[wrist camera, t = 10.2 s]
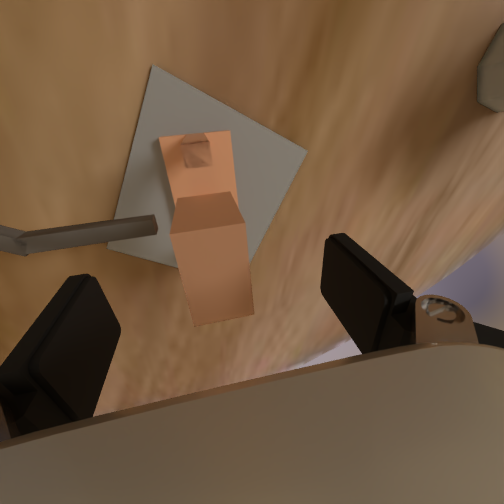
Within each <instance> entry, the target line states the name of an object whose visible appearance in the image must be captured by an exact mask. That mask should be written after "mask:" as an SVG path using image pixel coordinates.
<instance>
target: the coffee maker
mask: <svg viewBox="0 0 504 504" xmlns="http://www.w3.org/2000/svg"><path fill="white" fill-rule="evenodd" d="M477 102H478V103H480V104H482V105H484V106H486V107H488V108H489V109H491V110H493V111H495V112H502V111H504V23H503V24H502V25H501V26H500V28H499V30H498V31H497V33H496V35H495V37H494V38H493V40H492V42H491V44H490V46H489V47H488V49H487V51H486V53H485V54H484V56H483V58H482V60H481V62H480V63H479V65H478V70H477Z"/></svg>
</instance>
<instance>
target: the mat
mask: <svg viewBox="0 0 504 504" xmlns="http://www.w3.org/2000/svg"><path fill="white" fill-rule="evenodd" d="M224 130H230V133H231V142H232V151H233V160H234V170H235V179H236V188H237V197H238V207H239V211H240V213H241V215H242V217H243V219H244V221H245V223H246V234H247V244H248V254H249V264H250V262H251V260H252V258H253V256H254V254H255V252H256V250H257V248H258V246H259V245H260V243H261V241H262V239H263V237H264V235H265V233H266V231H267V229H268V227H269V225H270V223H271V221H272V219H273V217H274V215H275V214H276V212H277V210H278V208H279V206H280V204H281V202H282V200H283V198H284V196H285V194H286V192H287V190H288V188H289V186H290V185H291V183H292V181H293V179H294V177H295V175H296V173H297V171H298V169H299V167H300V165H301V163H302V161H303V159H304V157H305V155H306V154H307V152H308V151H307V150H305V149H303V148H302V147H300V146H298V145H296V144H294V143H293V142H291V141H289V140H287V139H285V138H284V137H282V136H280V135H278V134H277V133H275V132H273V131H271V130H269V129H268V128H266V127H264V126H262V125H260V124H259V123H257V122H255V121H253V120H252V119H250V118H248V117H246V116H244V115H243V114H241V113H239V112H237V111H235V110H234V109H232V108H230V107H228V106H226V105H225V104H223V103H221V102H219V101H218V100H216V99H214V98H212V97H210V96H209V95H207V94H205V93H203V92H201V91H200V90H198V89H196V88H194V87H192V86H191V85H189V84H187V83H185V82H184V81H182V80H180V79H178V78H176V77H175V76H173V75H171V74H169V73H167V72H166V71H164V70H162V69H160V68H158V67H157V66H155V65H152V69H151V73H150V77H149V81H148V85H147V89H146V93H145V97H144V101H143V105H142V109H141V113H140V117H139V121H138V125H137V129H136V133H135V137H134V141H133V145H132V149H131V153H130V157H129V161H128V165H127V169H126V173H125V177H124V181H123V185H122V189H121V193H120V197H119V201H118V205H117V209H116V213H115V217H114V220H115V219H123V218H130V217H137V216H145V215H152V214H154V215H155V218H156V222H157V225H158V232H157V235H152V236H145V237H138V238H132V239H125V240H118V241H111V242H108V245H107V249H109V250H113V251H117V252H121V253H124V254H128V255H132V256H136V257H139V258H143V259H147V260H150V261H154V262H158V263H162V264H165V265H169V266H173V267H176V268H178V264H177V261H176V257H175V253H174V250H173V246H172V242H171V239H170V235H169V234H170V229H171V225H172V220H173V216H174V211H175V203H174V199H173V195H172V191H171V187H170V183H169V179H168V175H167V170H166V166H165V162H164V158H163V154H162V150H161V146H160V142H159V137H162V136H172V135H183V134H193V133H203V132H214V131H224Z"/></svg>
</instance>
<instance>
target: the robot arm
mask: <svg viewBox="0 0 504 504" xmlns="http://www.w3.org/2000/svg"><path fill="white" fill-rule="evenodd" d="M320 289H321V293H322V295H323V297H324V298H325V300H326V301H327V303H328V304H329V306H330V307H331V309H332V310H333V311H334V313H335V314H336V316H337V317H338V319H339V320H340V322H341V323H342V325H343V326H344V328H345V329H346V331H347V332H348V334H349V335H350V337H351V338H352V339H353V341H354V342H355V344H356V345H357V347H358V348H359V350H360V351H361V353H362V354H361V355H356V356H352V357H348V358H343V359H339V360H335V361H330V362H325V363H321V364H317V365H312V366H308V367H303V368H299V369H295V370H290V371H286V372H281V373H277V374H273V375H268V376H264V377H260V378H256V379H251V380H247V381H243V382H238V383H234V384H230V385H225V386H221V387H217V388H213V389H208V390H204V391H200V392H195V393H191V394H187V395H183V396H179V397H174V398H170V399H166V400H162V401H158V402H153V403H149V404H145V405H141V406H137V407H132V408H128V409H124V410H120V411H116V412H111V413H107V414H103V415H99V416H95V417H93V414H94V411H95V408H96V405H97V402H98V399H99V396H100V393H101V390H102V387H103V385H104V382H105V379H106V376H107V373H108V370H109V367H110V364H111V361H112V358H113V355H114V352H115V349H116V346H117V343H118V340H119V337H120V334H121V327H120V324H119V322H118V320H117V318H116V316H115V314H114V312H113V310H112V308H111V306H110V304H109V302H108V300H107V299H106V297H105V295H104V293H103V291H102V289H101V287H100V285H99V283H98V281H97V279H96V278H95V277H91V276H90V275H89V274H81V275H75V276H70V277H68V278H67V280H66V281H65V282H64V284H63V285H62V286H61V288H60V289H59V290H58V292H57V293H56V294H55V295H54V297H53V298H52V299H51V301H50V302H49V303H48V305H47V306H46V307H45V309H44V310H43V311H42V312H41V314H40V315H39V316H38V318H37V319H36V320H35V322H34V323H33V324H32V326H31V327H30V328H29V330H28V331H27V332H26V333H25V335H24V336H23V337H22V339H21V340H20V341H19V343H18V344H17V345H16V347H15V348H14V349H13V350H12V352H11V353H10V354H9V356H8V357H7V358H6V360H5V361H4V362H3V364H2V365H1V366H0V504H504V331H502V330H499V329H495V328H492V327H489V326H485V325H482V324H479V323H475V322H473V320H472V317H471V315H470V313H469V312H468V311H467V310H466V309H465V308H464V307H463V306H462V305H460V304H459V303H457V302H455V301H453V300H451V299H449V298H446V297H442V296H438V295H424V296H420V297H419V298H418V299H417V298H416V297H415V296H414V295H413V292H414V291H413V290H412V289H411V288H410V287H409V286H407V285H406V284H405V283H404V282H403V281H401V280H400V279H399V278H398V277H397V276H395V275H394V274H393V273H392V272H391V271H389V270H388V269H387V268H386V267H385V266H383V265H382V264H381V263H380V262H379V261H377V260H376V259H375V258H374V257H373V256H371V255H370V254H369V253H368V252H367V251H365V250H364V249H363V248H362V247H361V246H359V245H358V244H357V243H356V242H355V241H353V240H352V239H351V238H350V237H349V236H347V235H346V234H345V233H339V234H332V235H330V236H329V238H328V239H326V240H325V247H324V257H323V267H322V277H321V286H320Z"/></svg>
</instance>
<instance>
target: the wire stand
mask: <svg viewBox="0 0 504 504" xmlns="http://www.w3.org/2000/svg"><path fill="white" fill-rule="evenodd" d="M157 232H158V225H157V222H156V218H155V215H154V214H152V215H145V216H137V217H130V218H123V219H115V220H108V221H101V222H93V223H86V224H79V225H71V226H64V227H57V228H49V229H42V230H35V231H27V232H25V231H21V230H18V229H14V228H10V227H6V226H2V225H0V251H4V252H8V253H13V254H17V255H21V256H27V255H28V254H30V253H37V252H44V251H51V250H57V249H64V248H71V247H78V246H84V245H91V244H98V243H105V242H111V241H118V240H125V239H132V238H138V237H145V236H152V235H157Z"/></svg>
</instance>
